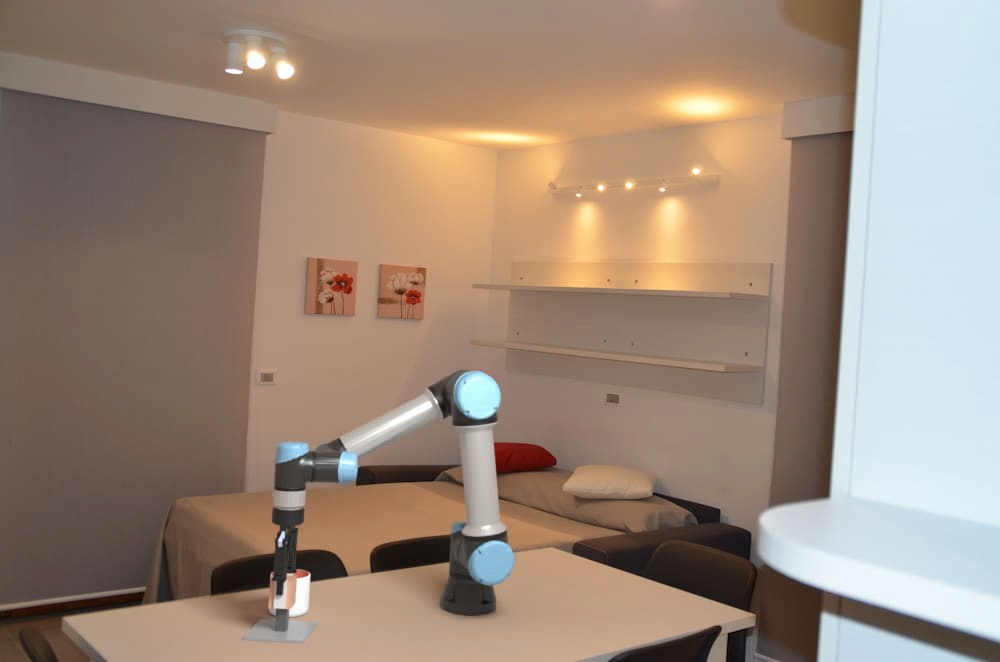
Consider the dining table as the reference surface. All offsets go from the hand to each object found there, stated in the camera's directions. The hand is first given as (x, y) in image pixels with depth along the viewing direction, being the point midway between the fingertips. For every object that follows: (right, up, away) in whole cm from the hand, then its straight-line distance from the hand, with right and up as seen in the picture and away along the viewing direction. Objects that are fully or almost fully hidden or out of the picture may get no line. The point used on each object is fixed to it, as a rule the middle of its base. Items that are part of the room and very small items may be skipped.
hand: (282, 604), depth 207 cm
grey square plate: (0, -7, 0) cm, 7 cm away
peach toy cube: (0, 0, 0) cm, 0 cm away
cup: (-2, -7, +15) cm, 16 cm away
